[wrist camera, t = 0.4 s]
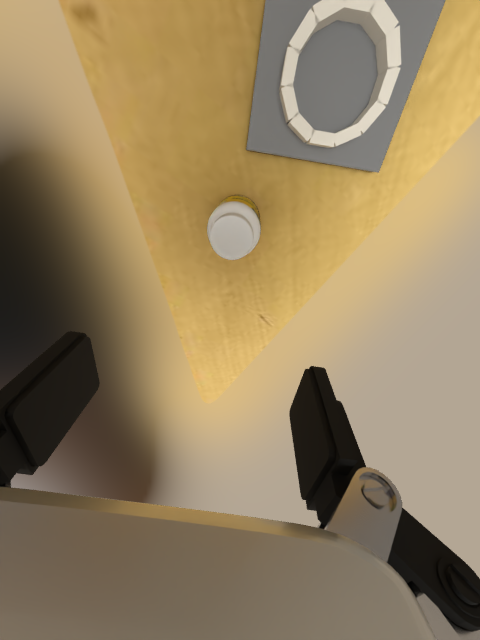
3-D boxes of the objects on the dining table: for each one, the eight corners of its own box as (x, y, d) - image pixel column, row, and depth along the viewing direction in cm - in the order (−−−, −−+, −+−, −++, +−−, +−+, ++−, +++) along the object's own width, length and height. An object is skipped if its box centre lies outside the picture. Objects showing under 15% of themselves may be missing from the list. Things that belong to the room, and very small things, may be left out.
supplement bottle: (269, 217, 30) (274, 238, 22) (239, 249, 32) (233, 279, 24) (236, 182, 28) (228, 191, 20) (207, 219, 31) (189, 240, 22)
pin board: (295, -227, 16) (305, -317, 13) (505, -180, 16) (561, -256, 13) (246, 150, 27) (245, 148, 24) (372, 171, 27) (387, 173, 24)
